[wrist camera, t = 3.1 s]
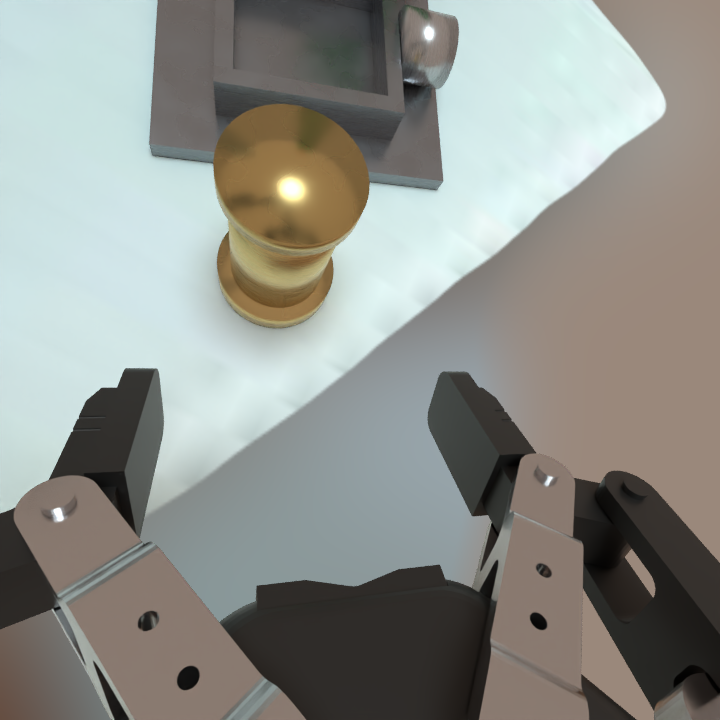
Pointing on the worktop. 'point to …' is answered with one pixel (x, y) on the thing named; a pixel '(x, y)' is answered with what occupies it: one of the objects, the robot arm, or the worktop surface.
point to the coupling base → (306, 75)
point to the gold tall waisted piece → (284, 209)
